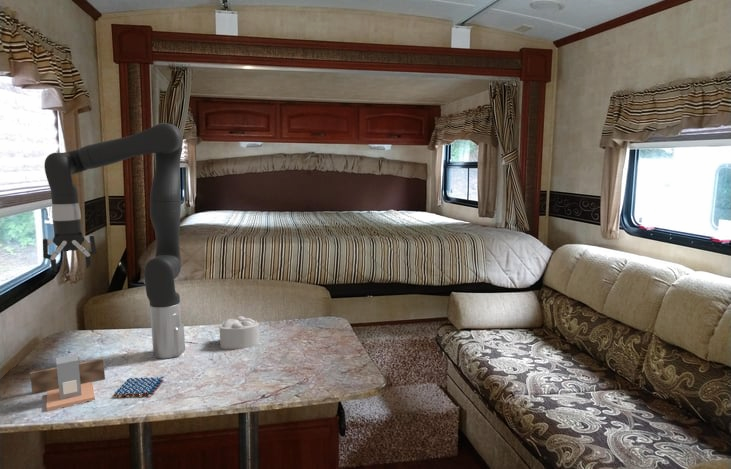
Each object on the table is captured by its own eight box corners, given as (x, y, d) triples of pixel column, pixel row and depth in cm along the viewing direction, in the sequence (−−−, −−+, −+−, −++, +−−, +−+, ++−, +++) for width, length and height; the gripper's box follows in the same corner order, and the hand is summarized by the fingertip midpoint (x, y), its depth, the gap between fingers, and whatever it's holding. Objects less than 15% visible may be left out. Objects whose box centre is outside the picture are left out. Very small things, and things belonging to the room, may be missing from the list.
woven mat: (127, 383, 147) (127, 376, 147) (164, 382, 148) (164, 375, 148) (112, 400, 137) (111, 393, 137) (152, 399, 138) (151, 392, 137)
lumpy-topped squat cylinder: (224, 338, 182) (223, 315, 180) (261, 337, 183) (260, 314, 181) (218, 349, 171) (217, 325, 170) (257, 348, 172) (256, 324, 171)
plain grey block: (80, 388, 141) (77, 354, 139) (81, 395, 136) (78, 360, 135) (59, 392, 138) (56, 358, 137) (60, 400, 134) (56, 364, 132)
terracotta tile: (92, 384, 145) (91, 381, 145) (95, 400, 136) (94, 396, 136) (47, 394, 139) (46, 391, 139) (46, 411, 130) (46, 407, 130)
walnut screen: (104, 377, 150) (103, 358, 149) (105, 379, 149) (103, 359, 148) (32, 392, 141) (30, 372, 140) (32, 394, 140) (30, 373, 139)
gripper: (39, 221, 148) (44, 274, 151) (93, 217, 156) (98, 269, 158) (39, 218, 155) (45, 270, 157) (92, 215, 162) (96, 264, 164)
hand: (71, 269), depth 158 cm, fingers open, 8 cm apart
